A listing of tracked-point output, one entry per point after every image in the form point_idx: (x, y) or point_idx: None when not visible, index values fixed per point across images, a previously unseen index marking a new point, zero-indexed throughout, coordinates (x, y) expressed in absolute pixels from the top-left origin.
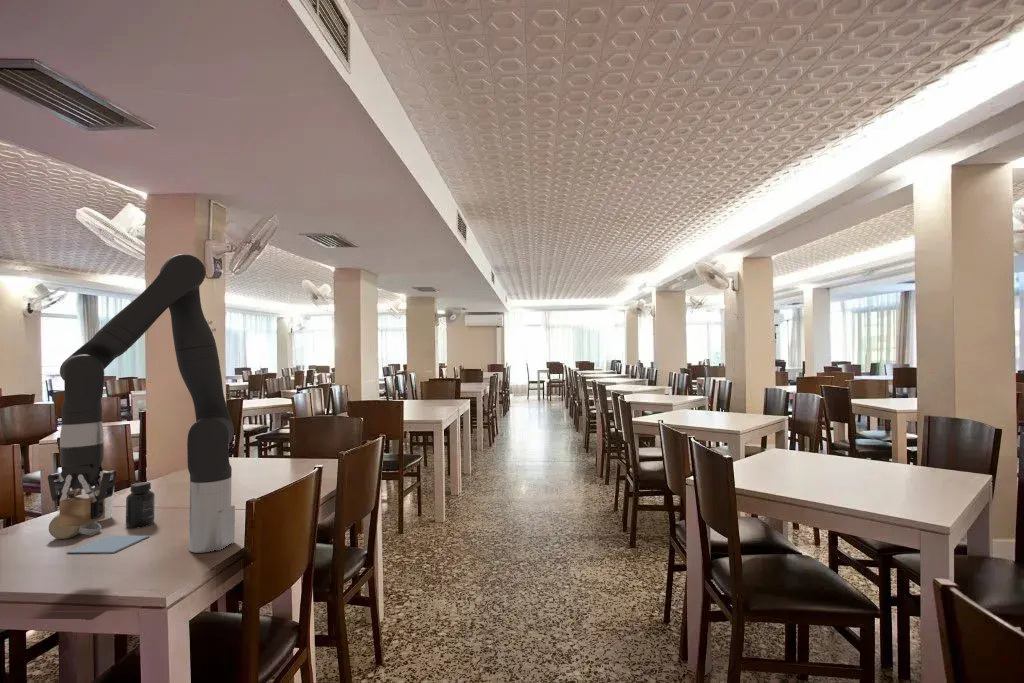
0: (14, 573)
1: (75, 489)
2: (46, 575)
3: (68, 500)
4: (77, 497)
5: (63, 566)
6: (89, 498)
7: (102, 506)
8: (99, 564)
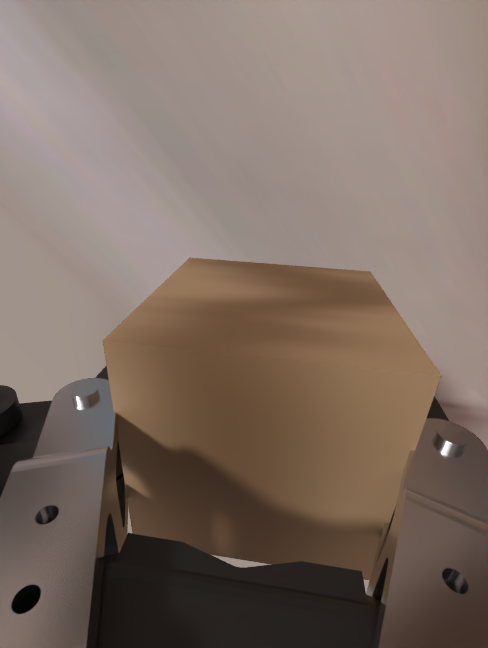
0: (27, 214)
1: (115, 533)
2: (155, 244)
3: (202, 544)
4: (192, 465)
5: (137, 158)
6: (374, 534)
7: (434, 405)
8: (267, 148)
